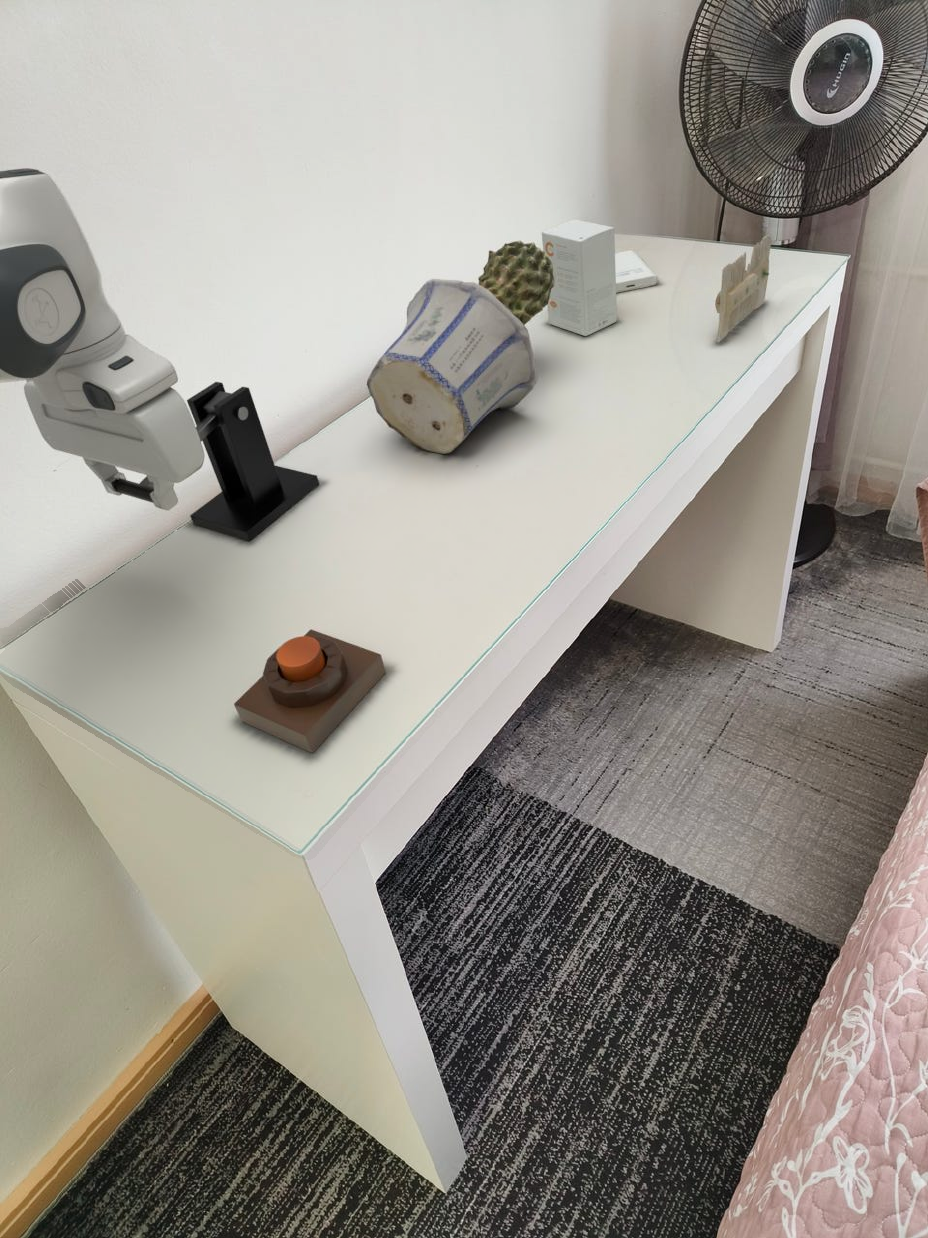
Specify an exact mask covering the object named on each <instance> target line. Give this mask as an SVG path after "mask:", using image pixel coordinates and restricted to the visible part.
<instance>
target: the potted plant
mask: <svg viewBox="0 0 928 1238" xmlns="http://www.w3.org/2000/svg"><path fill="white" fill-rule="evenodd" d="M482 270H483V273H482V274H481V275H479V276H478V278H477V280H478V283H477V282H474V281H463V280H457V279H443V278H442V279H441V278H431V279H428V280H426V282H425V283H424V284H423V285H422V286H421V287H420V289H419V290H417V292H416V293H415V294H414V296H413V298H412V299H411V300H410V301H409V302H408V304H407V307H406V324H405V326H404V329H403V330H402V333H401V334H400V335H399V337H397V339H396V340H395V341H394V342H393V343H392V344H391V345H390V346H389V348H387V350H385V352H384V353H383V355H382V356H381V357H380V358H379V359H378V361H377V363H376V364H375V365H374V367H373V369H372V370H371V372H370V374H369V376H368V378H367V380H366V386H367V389H368V392H369V396H370V397H371V398H372V399H373V403H374V407H375V410H376V413H377V414H378V415H379V417H380V418H382V420H383V421H384V422H385V423H386V425H387V426H388V428H390V429H392V430H394V431H395V432H396V433H397V434H399V435H400V436H401V437H402V438H404V439H405V440H407V441H409V442H410V443H411V444H412V445H414V446H416V447H418V448H419V449H421V450H422V451H425V452H432V453H437V454H444V455H445V454H451V452H453V451H454V450H455V449H456V448H457V447H459V445H461V444H462V443H463V441H464V440H465V439H466V438H467V437H468V436H469V435H470V433H471V432H472V431H473V430H474V429H475V427H477V425H479V424H480V422H481V421H482V420H483V419H485V417H487V416H488V415H489V414H490V413H492V412H493V411H495V410H497V409H502V410H511V409H513V408H514V407H516V406H517V405H518V404H520V402H521V401H523V399H525V397H527V395H528V394H530V392H532V390H533V389H534V388H535V386H536V385H537V382H538V372H537V369H536V364H535V359H534V351H533V346H532V342H531V338H530V333H529V330H528V328H527V327H526V326H525V325H526V324H527V323H528V322H530V321H531V320H532V319H533V318H534V317H535V316H536V315H537V314H539V313H540V312H542V311H543V309H544V308H545V307H546V306H547V304H548V302H549V298H550V293H551V289H552V288H553V287H554V283H555V280H554V277H553V264H552V262H551V261H550V259H549V258H548V256H547V254H546V253H545V252H543V249H541V247H537V246H536V243H535V242H533V241H532V242H527V243H524V242H523V241H521V240H516V241H511V242H509V243H504V245H502V247H501V248H499V249H498V250H496V251H493V250H491V249H490V250H488V257H487V262H486V264H485V265H484V266H483V268H482Z"/></svg>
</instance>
